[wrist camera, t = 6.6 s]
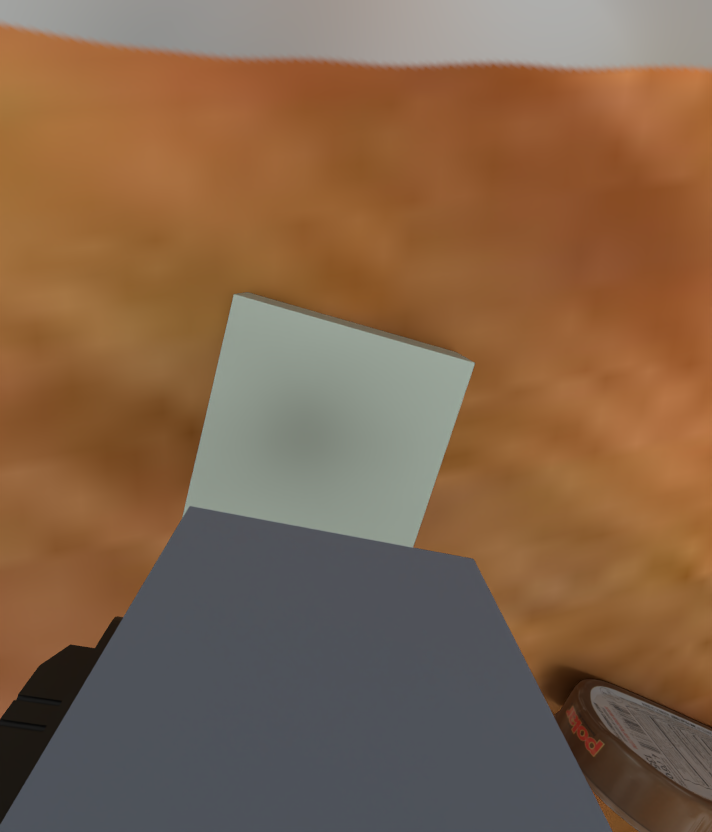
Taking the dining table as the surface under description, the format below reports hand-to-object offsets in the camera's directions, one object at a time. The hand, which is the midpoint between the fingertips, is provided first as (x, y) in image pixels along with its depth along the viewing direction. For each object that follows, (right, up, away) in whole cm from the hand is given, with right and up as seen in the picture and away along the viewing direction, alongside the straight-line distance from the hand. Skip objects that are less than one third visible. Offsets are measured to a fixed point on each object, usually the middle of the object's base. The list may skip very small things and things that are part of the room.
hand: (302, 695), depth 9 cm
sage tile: (-1, +4, +18) cm, 18 cm away
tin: (+18, -13, +23) cm, 31 cm away
